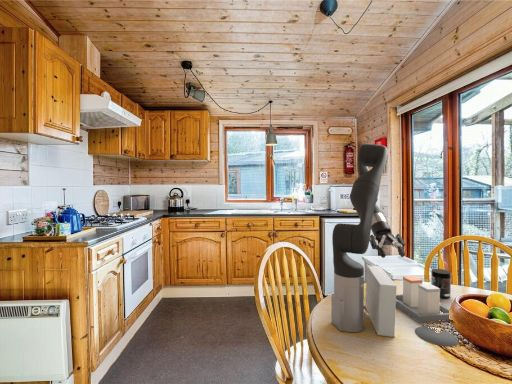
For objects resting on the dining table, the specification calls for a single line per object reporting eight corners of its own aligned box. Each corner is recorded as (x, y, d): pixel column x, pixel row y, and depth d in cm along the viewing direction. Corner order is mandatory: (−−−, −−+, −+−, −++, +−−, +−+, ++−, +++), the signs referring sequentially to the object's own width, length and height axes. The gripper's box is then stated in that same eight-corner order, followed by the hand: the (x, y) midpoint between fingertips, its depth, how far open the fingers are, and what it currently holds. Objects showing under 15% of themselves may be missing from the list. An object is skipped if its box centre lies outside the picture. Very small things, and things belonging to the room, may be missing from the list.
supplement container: (439, 292, 119) (439, 268, 118) (454, 298, 112) (455, 272, 112) (426, 294, 116) (427, 269, 116) (442, 300, 110) (442, 274, 110)
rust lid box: (422, 306, 104) (422, 280, 104) (410, 307, 103) (410, 280, 103) (413, 301, 109) (413, 276, 108) (402, 302, 108) (402, 276, 108)
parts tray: (457, 321, 94) (457, 313, 94) (419, 323, 92) (419, 316, 92) (420, 299, 111) (420, 293, 111) (388, 301, 110) (388, 295, 110)
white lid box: (439, 317, 96) (440, 288, 95) (427, 318, 95) (427, 289, 95) (429, 311, 100) (430, 283, 100) (417, 312, 100) (418, 284, 99)
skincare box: (396, 338, 84) (397, 285, 84) (377, 336, 85) (377, 284, 85) (380, 307, 105) (380, 265, 104) (364, 306, 106) (365, 264, 105)
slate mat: (435, 350, 78) (435, 348, 78) (406, 329, 89) (406, 328, 89) (468, 345, 80) (468, 343, 80) (436, 325, 91) (436, 324, 91)
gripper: (367, 220, 125) (381, 252, 114) (396, 219, 126) (413, 251, 115) (361, 230, 130) (374, 261, 119) (389, 229, 132) (405, 260, 121)
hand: (393, 256), depth 117 cm, fingers open, 8 cm apart
